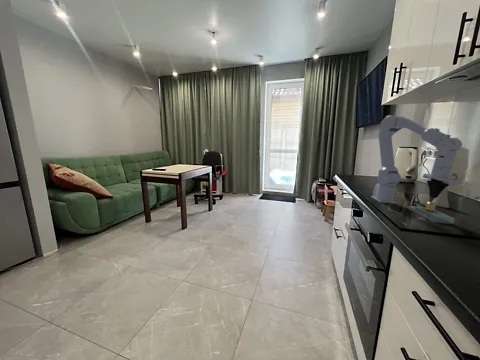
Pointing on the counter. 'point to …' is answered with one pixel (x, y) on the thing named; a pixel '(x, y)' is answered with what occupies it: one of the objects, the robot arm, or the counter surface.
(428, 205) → the yellow upright block
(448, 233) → the counter surface
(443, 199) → the flask
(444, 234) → the counter surface
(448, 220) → the pale blue flat bar
